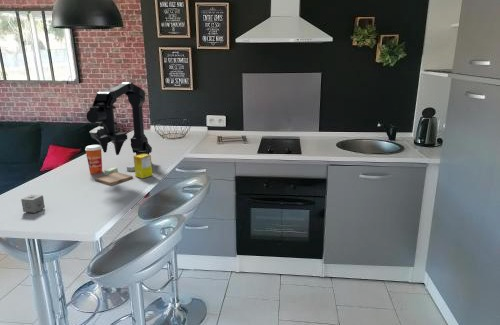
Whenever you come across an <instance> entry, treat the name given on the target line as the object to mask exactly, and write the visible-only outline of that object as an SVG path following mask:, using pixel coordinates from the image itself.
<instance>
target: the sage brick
mask: <svg viewBox="0 0 500 325" xmlns="http://www.w3.org/2000/svg"><path fill="white" fill-rule="evenodd" d="M118 169H119V168H118V167H110V168H108V169H105V170H104V176H105V175H108V174H112V173H116V172H118V173H119V171H118Z"/></svg>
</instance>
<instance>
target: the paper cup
mask: <svg viewBox="0 0 500 325" xmlns="http://www.w3.org/2000/svg"><path fill="white" fill-rule="evenodd" d="M84 150H85V154H86V159H87V163H88V168H89V174H90V175H96V174H97V175H98V174H102V173H103V160H102V159H103V158H102V150H103V149H102V147H101V145H100V144H91V145H87V146H85V149H84Z"/></svg>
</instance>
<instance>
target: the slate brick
mask: <svg viewBox="0 0 500 325" xmlns="http://www.w3.org/2000/svg"><path fill="white" fill-rule="evenodd" d="M126 171H127V172H131V171H132V172H135V166H134V163H133V164H131V165H129V166H127V167H126Z"/></svg>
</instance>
